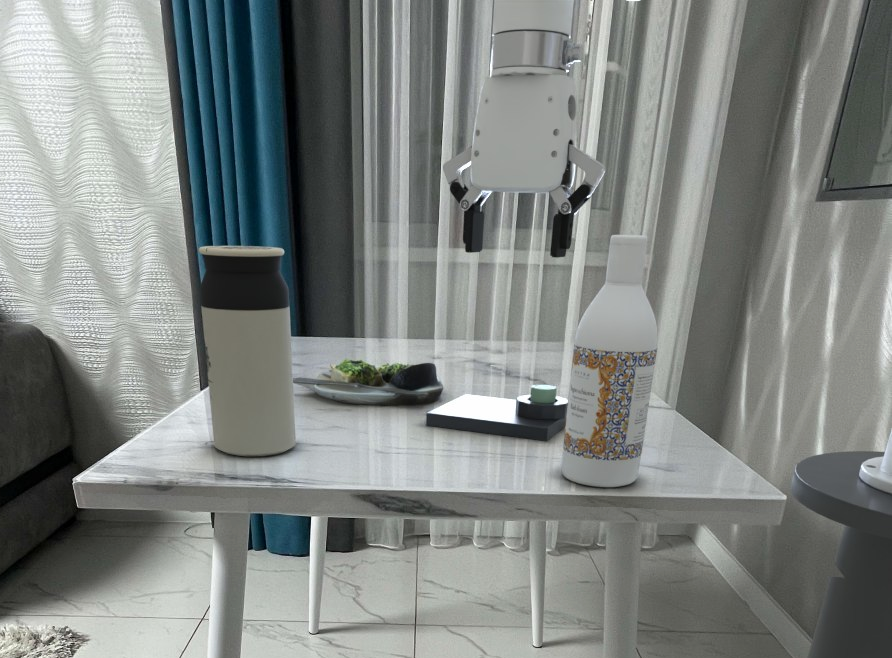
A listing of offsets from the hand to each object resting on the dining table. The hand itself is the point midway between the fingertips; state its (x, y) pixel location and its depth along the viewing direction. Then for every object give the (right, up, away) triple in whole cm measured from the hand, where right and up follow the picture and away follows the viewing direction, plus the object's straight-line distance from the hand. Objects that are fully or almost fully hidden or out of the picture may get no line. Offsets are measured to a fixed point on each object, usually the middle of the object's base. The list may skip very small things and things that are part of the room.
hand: (514, 254), depth 87 cm
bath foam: (+6, -26, -12) cm, 30 cm away
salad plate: (-15, -10, +19) cm, 26 cm away
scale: (-1, -16, +6) cm, 18 cm away
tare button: (+4, -15, +3) cm, 16 cm away
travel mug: (-27, -22, -6) cm, 35 cm away
